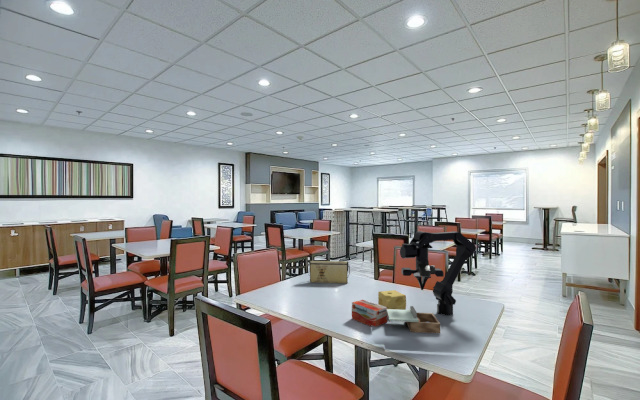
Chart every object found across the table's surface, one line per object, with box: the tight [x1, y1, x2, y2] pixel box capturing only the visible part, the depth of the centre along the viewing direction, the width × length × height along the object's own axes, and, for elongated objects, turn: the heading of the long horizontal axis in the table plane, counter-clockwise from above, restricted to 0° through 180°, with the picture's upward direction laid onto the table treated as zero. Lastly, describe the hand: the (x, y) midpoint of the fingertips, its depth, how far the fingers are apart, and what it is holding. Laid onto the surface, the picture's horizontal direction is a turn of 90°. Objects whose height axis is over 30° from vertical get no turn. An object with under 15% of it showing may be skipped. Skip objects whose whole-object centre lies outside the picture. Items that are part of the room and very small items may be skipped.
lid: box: [387, 305, 419, 323], centre depth 134 cm, size 12×12×3 cm
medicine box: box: [351, 299, 388, 327], centre depth 142 cm, size 15×8×8 cm, turn 42°
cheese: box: [377, 289, 407, 317], centre depth 152 cm, size 10×11×10 cm
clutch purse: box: [306, 260, 351, 284], centre depth 211 cm, size 30×7×15 cm, turn 85°
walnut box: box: [406, 312, 441, 334], centre depth 133 cm, size 12×12×5 cm
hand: (422, 289), depth 147 cm, fingers closed
